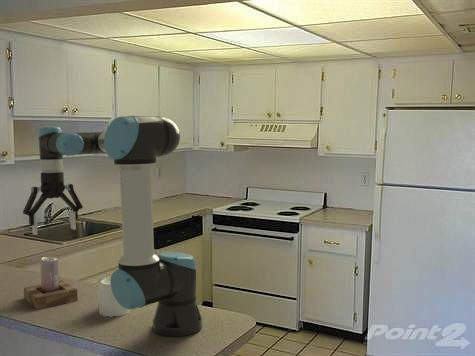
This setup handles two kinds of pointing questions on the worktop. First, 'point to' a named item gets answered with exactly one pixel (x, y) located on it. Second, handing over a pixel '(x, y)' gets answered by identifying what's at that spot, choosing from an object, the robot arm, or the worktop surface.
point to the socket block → (50, 295)
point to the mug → (109, 300)
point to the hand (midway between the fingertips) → (54, 231)
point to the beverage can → (49, 274)
